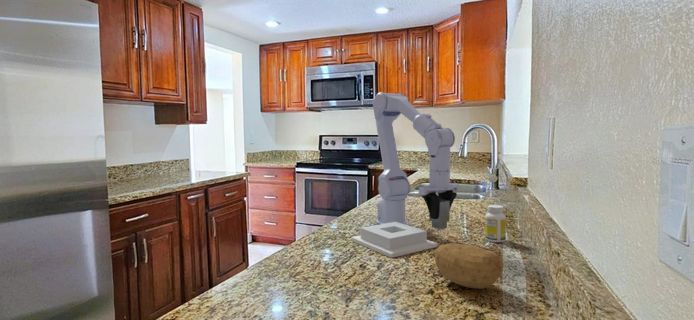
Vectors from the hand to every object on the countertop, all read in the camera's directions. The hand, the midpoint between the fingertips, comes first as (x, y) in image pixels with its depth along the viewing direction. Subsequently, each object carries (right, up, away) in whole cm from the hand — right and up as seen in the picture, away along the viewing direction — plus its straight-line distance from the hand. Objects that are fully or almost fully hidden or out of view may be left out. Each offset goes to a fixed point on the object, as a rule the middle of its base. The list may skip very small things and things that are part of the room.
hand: (439, 217), depth 106 cm
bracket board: (-14, -7, -4) cm, 16 cm away
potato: (-3, -9, -32) cm, 33 cm away
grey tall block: (0, -3, 0) cm, 3 cm away
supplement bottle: (+16, -6, -2) cm, 17 cm away
